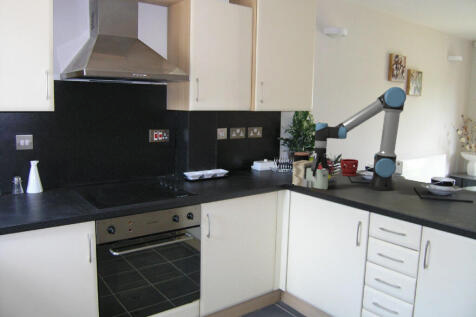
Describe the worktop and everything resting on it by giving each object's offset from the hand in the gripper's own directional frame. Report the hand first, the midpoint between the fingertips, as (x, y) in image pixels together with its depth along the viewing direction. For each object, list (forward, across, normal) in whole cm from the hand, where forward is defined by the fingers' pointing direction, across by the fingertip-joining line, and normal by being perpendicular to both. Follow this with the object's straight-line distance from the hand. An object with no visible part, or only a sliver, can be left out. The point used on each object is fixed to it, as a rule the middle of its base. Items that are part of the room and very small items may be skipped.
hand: (319, 179), depth 254 cm
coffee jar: (+5, -24, -26) cm, 36 cm away
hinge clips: (+5, 0, -6) cm, 8 cm away
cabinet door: (+5, 0, -2) cm, 6 cm away
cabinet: (+5, -4, -14) cm, 16 cm away
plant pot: (+5, -58, -3) cm, 59 cm away
